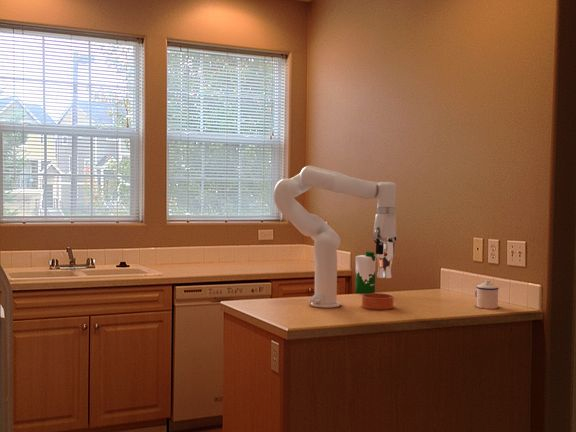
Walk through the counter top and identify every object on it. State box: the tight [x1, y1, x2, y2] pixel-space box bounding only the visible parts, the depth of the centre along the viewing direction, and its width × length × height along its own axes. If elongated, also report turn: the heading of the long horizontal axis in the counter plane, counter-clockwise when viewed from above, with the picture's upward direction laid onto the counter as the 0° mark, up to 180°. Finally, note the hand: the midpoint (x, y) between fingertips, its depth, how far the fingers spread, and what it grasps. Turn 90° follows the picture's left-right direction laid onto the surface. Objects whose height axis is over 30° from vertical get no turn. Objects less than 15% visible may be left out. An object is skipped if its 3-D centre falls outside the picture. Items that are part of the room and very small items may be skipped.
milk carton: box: [354, 251, 377, 295], centre depth 318 cm, size 9×9×20 cm
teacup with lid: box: [474, 279, 499, 310], centre depth 283 cm, size 12×9×12 cm
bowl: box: [361, 292, 395, 311], centre depth 279 cm, size 13×13×5 cm
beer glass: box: [376, 240, 394, 280], centre depth 276 cm, size 7×7×15 cm
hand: (384, 253), depth 276 cm, fingers closed on beer glass, 7 cm apart
